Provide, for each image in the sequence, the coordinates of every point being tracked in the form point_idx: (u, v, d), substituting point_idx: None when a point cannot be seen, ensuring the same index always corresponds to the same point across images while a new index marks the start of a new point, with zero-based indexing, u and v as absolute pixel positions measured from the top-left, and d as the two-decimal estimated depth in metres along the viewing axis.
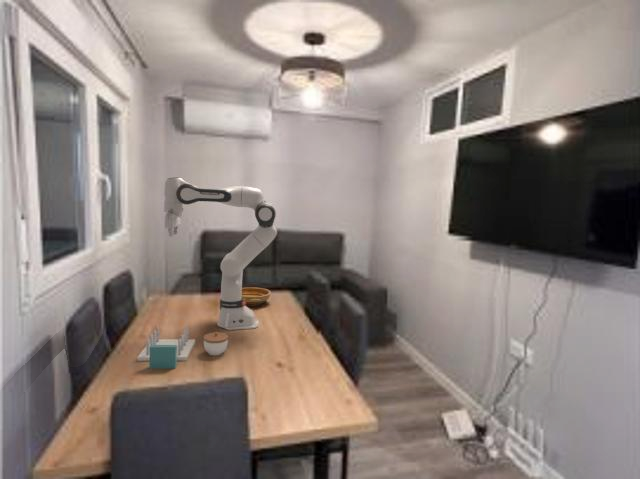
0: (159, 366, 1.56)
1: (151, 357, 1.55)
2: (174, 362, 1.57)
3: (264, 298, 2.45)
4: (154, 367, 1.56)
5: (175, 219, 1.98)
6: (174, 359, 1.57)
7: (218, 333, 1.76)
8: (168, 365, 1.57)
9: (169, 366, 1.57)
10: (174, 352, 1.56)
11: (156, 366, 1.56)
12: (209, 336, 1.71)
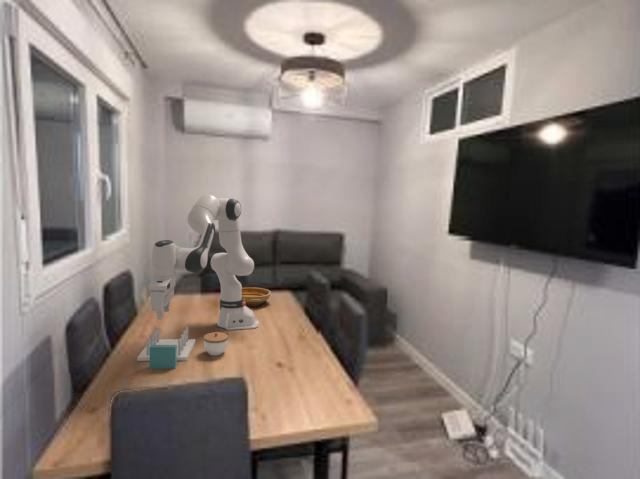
0: (159, 366, 1.56)
1: (151, 357, 1.55)
2: (174, 362, 1.57)
3: (264, 298, 2.45)
4: (154, 367, 1.56)
5: None
6: (174, 359, 1.57)
7: (218, 333, 1.76)
8: (168, 365, 1.57)
9: (169, 366, 1.57)
10: (174, 352, 1.56)
11: (156, 366, 1.56)
12: (209, 336, 1.71)
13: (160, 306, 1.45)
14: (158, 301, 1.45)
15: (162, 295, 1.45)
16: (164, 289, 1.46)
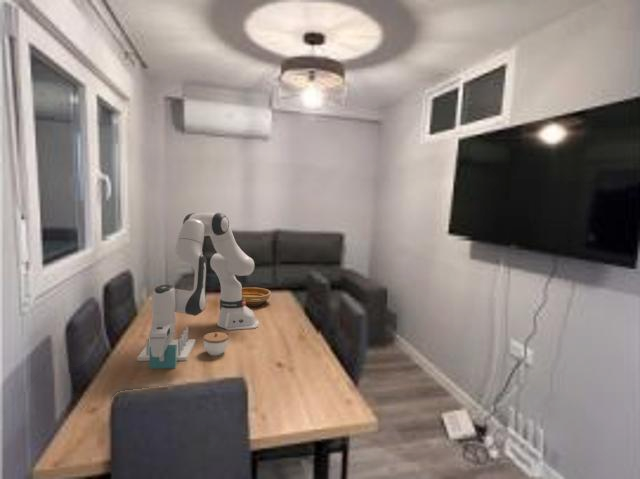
0: (159, 366, 1.56)
1: (151, 357, 1.55)
2: (174, 362, 1.57)
3: (264, 298, 2.45)
4: (154, 367, 1.56)
5: None
6: (174, 359, 1.57)
7: (218, 333, 1.76)
8: (168, 364, 1.57)
9: (169, 366, 1.57)
10: (174, 352, 1.56)
11: (156, 366, 1.56)
12: (209, 336, 1.71)
13: (160, 353, 1.47)
14: (158, 348, 1.47)
15: (162, 342, 1.47)
16: (164, 336, 1.48)
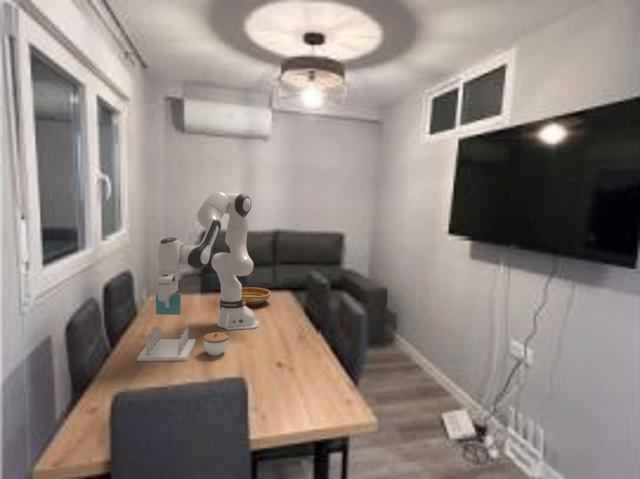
0: (165, 312, 1.70)
1: (158, 304, 1.69)
2: (178, 309, 1.70)
3: (264, 298, 2.45)
4: (160, 313, 1.69)
5: None
6: (178, 306, 1.70)
7: (218, 333, 1.76)
8: (173, 311, 1.70)
9: (174, 312, 1.70)
10: (178, 299, 1.70)
11: (162, 312, 1.69)
12: (209, 336, 1.71)
13: (166, 297, 1.60)
14: (164, 293, 1.60)
15: (168, 287, 1.60)
16: (169, 282, 1.61)
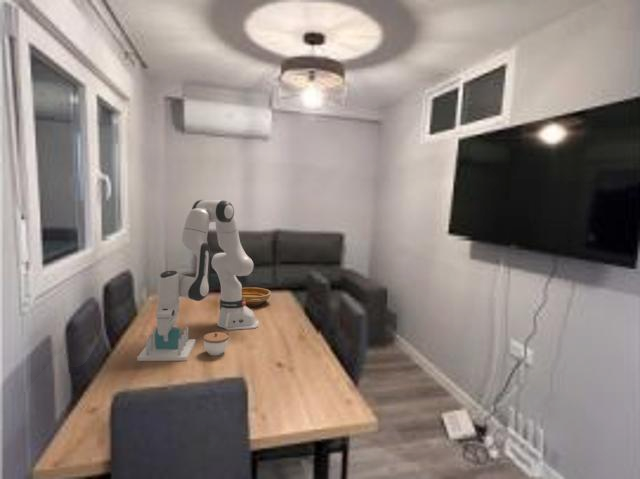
0: (164, 346, 1.71)
1: (157, 339, 1.71)
2: None
3: (264, 298, 2.45)
4: (160, 347, 1.71)
5: None
6: None
7: (218, 333, 1.76)
8: (173, 345, 1.72)
9: (173, 347, 1.72)
10: (178, 334, 1.72)
11: (162, 346, 1.71)
12: (209, 336, 1.71)
13: (166, 331, 1.62)
14: (163, 327, 1.62)
15: (167, 322, 1.62)
16: (169, 316, 1.63)
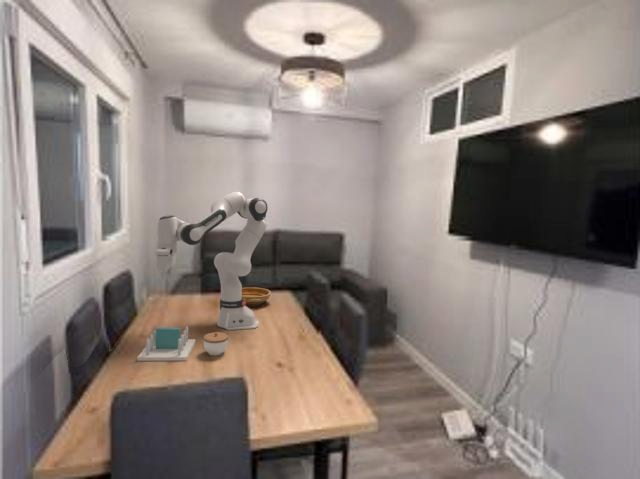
0: (164, 346, 1.71)
1: (157, 339, 1.71)
2: None
3: (264, 298, 2.45)
4: (160, 347, 1.71)
5: None
6: None
7: (218, 333, 1.76)
8: (173, 345, 1.72)
9: (173, 347, 1.72)
10: (178, 334, 1.72)
11: (162, 346, 1.71)
12: (209, 336, 1.71)
13: (164, 267, 1.79)
14: (162, 263, 1.79)
15: (166, 259, 1.79)
16: (167, 254, 1.80)
